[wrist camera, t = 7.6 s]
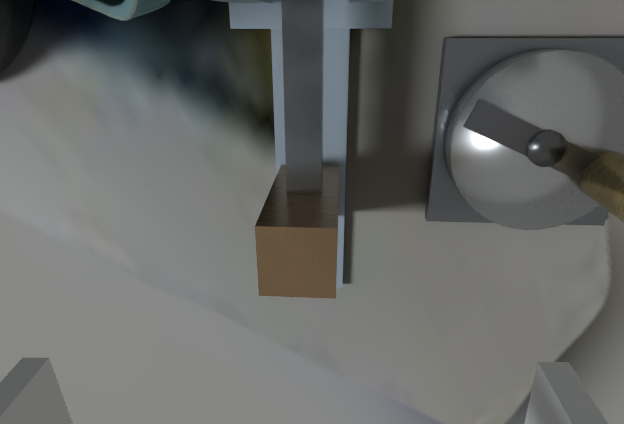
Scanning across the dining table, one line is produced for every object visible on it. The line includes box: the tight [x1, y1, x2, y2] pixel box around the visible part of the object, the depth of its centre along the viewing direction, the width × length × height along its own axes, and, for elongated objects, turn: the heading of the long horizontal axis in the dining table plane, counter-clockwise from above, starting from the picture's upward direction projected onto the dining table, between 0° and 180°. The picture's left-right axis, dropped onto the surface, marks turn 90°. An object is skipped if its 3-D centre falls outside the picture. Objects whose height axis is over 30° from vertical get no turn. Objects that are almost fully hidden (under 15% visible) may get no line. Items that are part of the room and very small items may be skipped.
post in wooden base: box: [255, 0, 339, 298], centre depth 22 cm, size 18×4×9 cm, turn 0°
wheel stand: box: [425, 38, 624, 225], centre depth 27 cm, size 11×11×1 cm
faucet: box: [445, 49, 624, 230], centre depth 21 cm, size 10×10×11 cm
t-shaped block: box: [213, 0, 393, 289], centre depth 24 cm, size 22×9×9 cm, turn 0°
